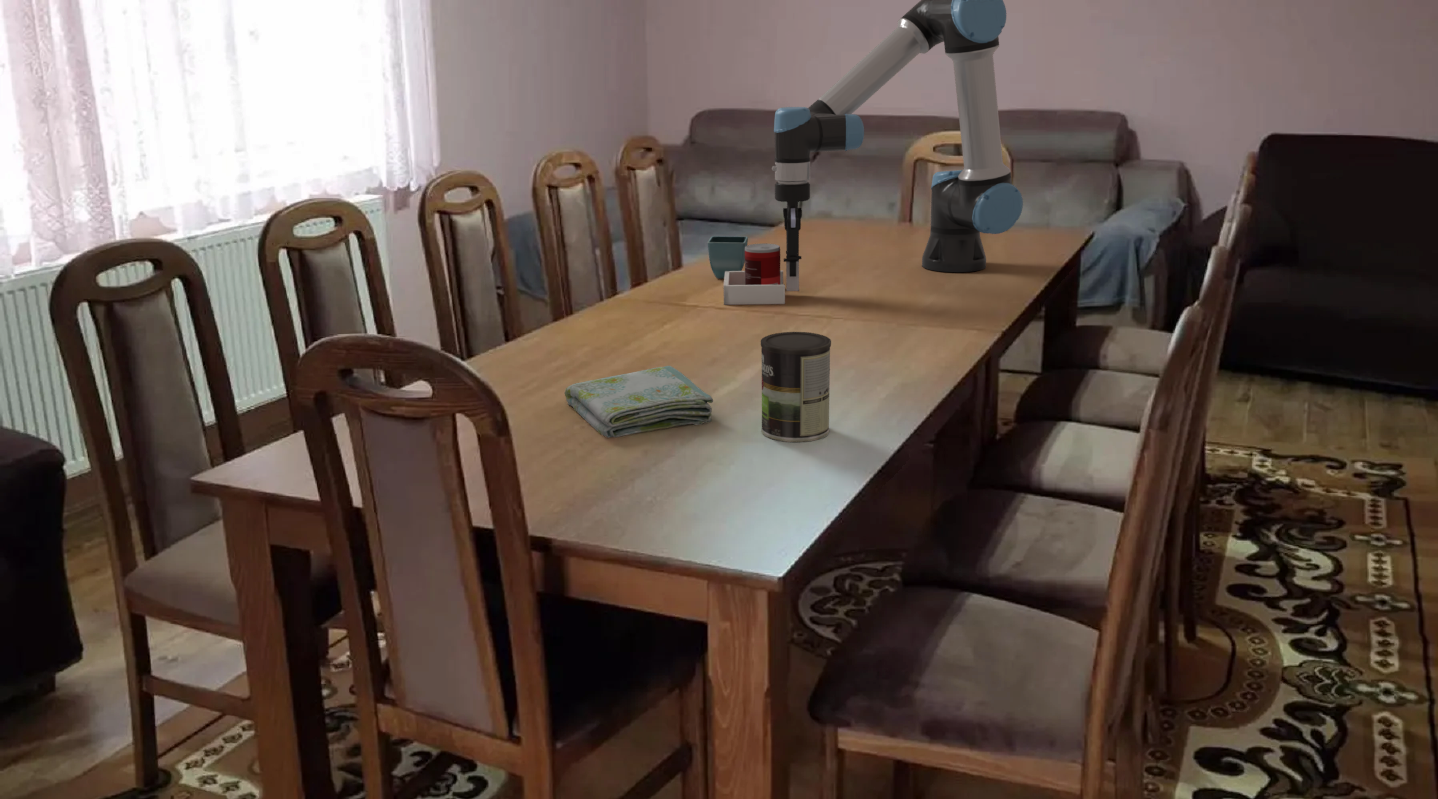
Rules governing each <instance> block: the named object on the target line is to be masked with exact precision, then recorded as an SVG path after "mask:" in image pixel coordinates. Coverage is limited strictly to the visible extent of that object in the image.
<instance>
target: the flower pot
mask: <svg viewBox="0 0 1438 799" xmlns="http://www.w3.org/2000/svg"><path fill="white" fill-rule="evenodd" d="M748 238H749V237H748V236H741V235H740V236H731V235H729V236H726V235H723V236H722V235H720V236H719V235H718V236H717V235H713V236H710V238H709V240H707V243H706V244H707V249H708V250H707V251H708V261H709V264H710V269H711V270H712V273H713V275H714V276H715V278H716V279H724V276H725V271H743V268H744V267H745V247H746V246H748V240H749V239H748Z"/></svg>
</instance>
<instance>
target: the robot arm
mask: <svg viewBox="0 0 1438 799" xmlns="http://www.w3.org/2000/svg"><path fill="white" fill-rule="evenodd" d="M1006 23H1007V8H1006V5H1005V1H1004V0H920V1H919V2H917V3H916V4H915V5H913V6H912V7H911V8H910V9H909V10H908V11H907V12H906V13H905V14H904V15H902V17H900V19H898V21H897V27H896V28H894V30H893V31H892V32H891V33H890V34H888V35H887V36H886V37H885V38H884V39H883V40H882V41H881V42H880V43H879V44H878V45H877V46H875V47H874V48H873V49H872V50H871V51H870V52H869V53H868V54H866V55H865V56H864V57H863V58H862V59H861V60H860V61H859V62H858V63H857V64H856V65H854V66H853V67H852V68H851V69H850V70H849V71H848V72H847V73H846V74H844V75H843V76H842V77H841V78H839V80H838V81H837V82H836V83H835V84H834V85H832V86H831V87H830V88H829V89H828V90H827V91H826V92H824V93H823V94H822V95H821V96H820V97H819V98H818V99H816V100H815V102H813V103H811V105H810V106H808V107H806V106H785V107H780V108H777V109H776V111H775V114H774V121H773V122H774V123H773V125H774V126H773V133H774V164H775V165H772V167H771V170H772V171H773V172H774V180H775V181H777V182H776V183H775V184H774V199H775V200H776V201H778V202H782V203H785V202H786V207H783V209H782V212H783V213H782V214H783V220H784V223H783V224H784V226H783V227H784V230H785V231H786V233H785V234H786V235H785V236H786V243H785V244H786V250H785V258H783V262H784V263H786V264H785V266H786V268H785V270H786V272H785V273H786V275H785V278H786V285H785V292H799V291H800V265H799V264H800V260H802V255H799V254H800V250H799V248H800V230H801V228H802V227H801V226H802V223H801V220H802V218H803V210H802V207H799V203H800V202H806V201H808V200H810V198H811V184H810V182H808V181H810V180H811V153H817V152H835V151H836V152H837V151H841V152H842V151H845V152H847V151H850V150H851V151H852V150H858V149H859V148H860V147H861V146H862V145H863V142H864V139H865V128H864V127H865V126H864V123H863V120H862V118H861V117H860V115H858V114H855V112H856V111H857V110H858V109H859V108H860V107H861V106H862V105H864V103H866V102H867V101H868V100H869V99H870V98H871V97H872V96H873V95H875V94H876V93H877V92H878V91H880V90H881V88H883V86H885V85H886V84H887V83H888V82H889V81H890V80H892V79H893V78H894V77H895V76H896V75H897V74H898V73H899V72H900V71H901V70H902V69H903V68H905V67H906V66H907V65H908V64H909V63H910V62H911V61H913V59H915V58H916V57H917V56H918V55H919V54H927V53H928V52H929V51H931V49H933V48H934V47H936V46H937V45H939V44H942V43H944V44H943V46H944V54H945V55H946V56H947V57H948V58H950V59H951V60H952V61H953V63H952V64H953V71H954V72H953V73H954V82H955V92H956V99H957V100H956V101H957V102H956V103H957V110H958V121H959V131H960V139H961V142H960V143H961V149H962V159H963V169H960V170H957V169H956V170H943V171H941V170H940V171H937V172H935V173H934V174H933V175H932V179H931V186H930V190H931V198H930V200H931V201H930V202H931V203H930V204H931V205H930V206H931V207H930V234H929V237H928V239H927V243H926V244H925V245H926V246H925V248H924V251H923V253H922V257H921V258H922V259H921V267H923V268H924V269H927V270H929V271H935V272H941V273H942V272H943V273H968V272H969V273H971V272H977V271H978V272H979V271H981V270H984V269H986V268H987V257H986V252H985V250H984V249H985V248H984V246H983V243H982V239H981V233H982V234H991V235H999V234H1003V233H1006V232H1007V231H1009V230H1010V229H1011V228H1013V226H1015V224H1016V222H1017V221H1018V220H1019V219H1020V216H1021V214H1022V212H1023V206H1024V201H1023V200H1024V199H1023V195H1022V193H1021V191H1020V189H1018V188H1017V187H1016V186H1015V184H1013V183H1012V173H1011V168H1010V167H1008V166H1007V165H1006V164H1005V163H1004V162H1003V160H1004V159H1003V152H1002V151H1003V149H1002V141H1001V139H1002V138H1001V137H1002V136H1001V129H1000V117H999V106H998V96H997V95H998V94H997V86H996V73H995V65H994V64H995V63H994V54H995V52H996V51H997V49H998V48H1000V41H999V37H1000V35H1001V34H1002V30H1003V29H1004V28H1005V26H1006Z"/></svg>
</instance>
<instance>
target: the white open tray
mask: <svg viewBox="0 0 1438 799" xmlns="http://www.w3.org/2000/svg"><path fill="white" fill-rule="evenodd" d="M723 279H724V280H723V305H727V306H728V305H785V304H786V285H785V284H784V270H780V285H745V270H742V271H725V276H724V278H723Z"/></svg>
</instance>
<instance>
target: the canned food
mask: <svg viewBox="0 0 1438 799" xmlns="http://www.w3.org/2000/svg"><path fill="white" fill-rule="evenodd" d="M744 271H745V285H780V271H781V246H780V245H778V244H775V243H754V244H747V246H746V247H745V263H744Z"/></svg>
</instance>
